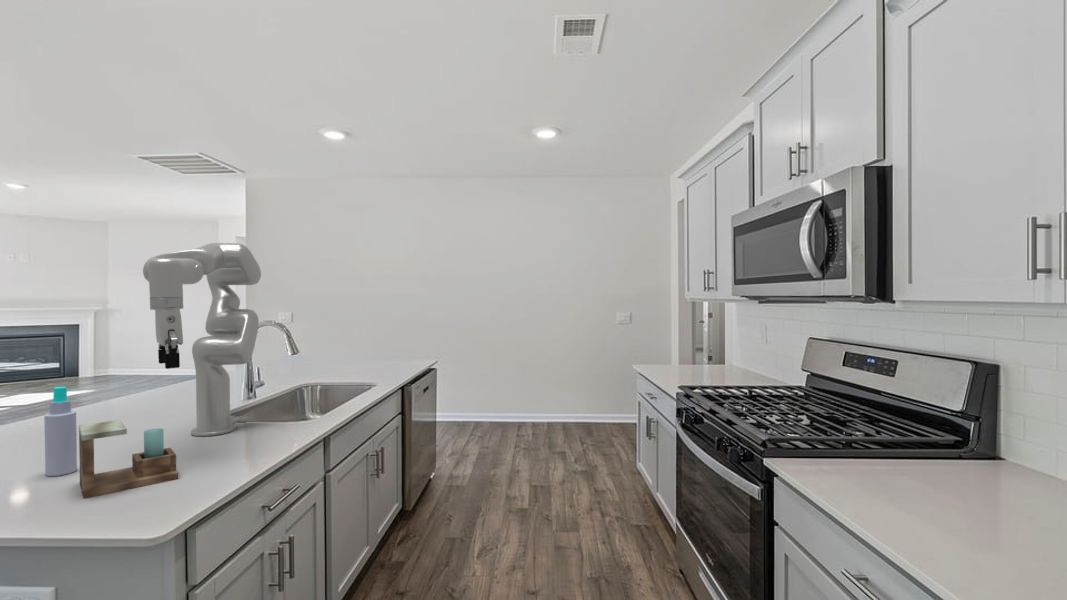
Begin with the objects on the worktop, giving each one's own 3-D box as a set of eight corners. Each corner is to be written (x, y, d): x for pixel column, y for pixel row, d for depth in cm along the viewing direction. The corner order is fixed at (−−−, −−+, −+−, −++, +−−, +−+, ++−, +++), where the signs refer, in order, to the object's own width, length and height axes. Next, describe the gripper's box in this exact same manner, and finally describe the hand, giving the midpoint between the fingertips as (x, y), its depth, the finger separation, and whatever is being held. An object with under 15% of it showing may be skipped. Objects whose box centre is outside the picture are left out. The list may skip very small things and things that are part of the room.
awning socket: (168, 465, 140) (168, 413, 140) (178, 478, 131) (177, 422, 130) (79, 482, 128) (78, 425, 127) (83, 498, 118) (82, 435, 118)
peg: (162, 466, 135) (161, 427, 135) (165, 470, 132) (164, 430, 132) (143, 469, 133) (142, 430, 132) (145, 473, 130) (145, 433, 130)
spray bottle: (51, 470, 136) (50, 386, 136) (80, 467, 139) (79, 384, 138) (40, 478, 131) (39, 390, 130) (71, 475, 133) (70, 388, 133)
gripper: (189, 305, 140) (191, 368, 141) (176, 301, 153) (178, 359, 154) (155, 306, 135) (158, 372, 136) (144, 302, 147) (147, 362, 149)
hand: (169, 365), depth 145 cm, fingers open, 9 cm apart
